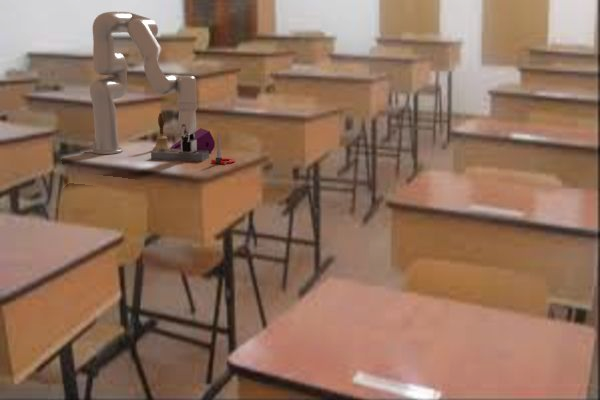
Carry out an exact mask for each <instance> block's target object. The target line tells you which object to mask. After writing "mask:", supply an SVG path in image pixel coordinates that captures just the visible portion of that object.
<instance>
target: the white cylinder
mask: <svg viewBox="0 0 600 400" xmlns="http://www.w3.org/2000/svg"><path fill="white" fill-rule="evenodd" d="M189 142H190V152H183V151H182V141H181V153H189V154H195V153H197V140H193V139H189Z"/></svg>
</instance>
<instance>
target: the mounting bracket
mask: <svg viewBox="0 0 600 400" xmlns="http://www.w3.org/2000/svg"><path fill="white" fill-rule="evenodd" d="M195 140H197V150H208V151H209V152H210V153H211V152H213V150H214V149H215V146H216V143H215V139H214V138H213V135H212V133H211V131H210V130H208V129H204V128H202V127H201V128H199V129H196V132H195ZM181 141H182V139H181V140H179V141H177V142H175V143H174V144H172V145H171V146H170V147H171V148H170V149H181Z"/></svg>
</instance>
